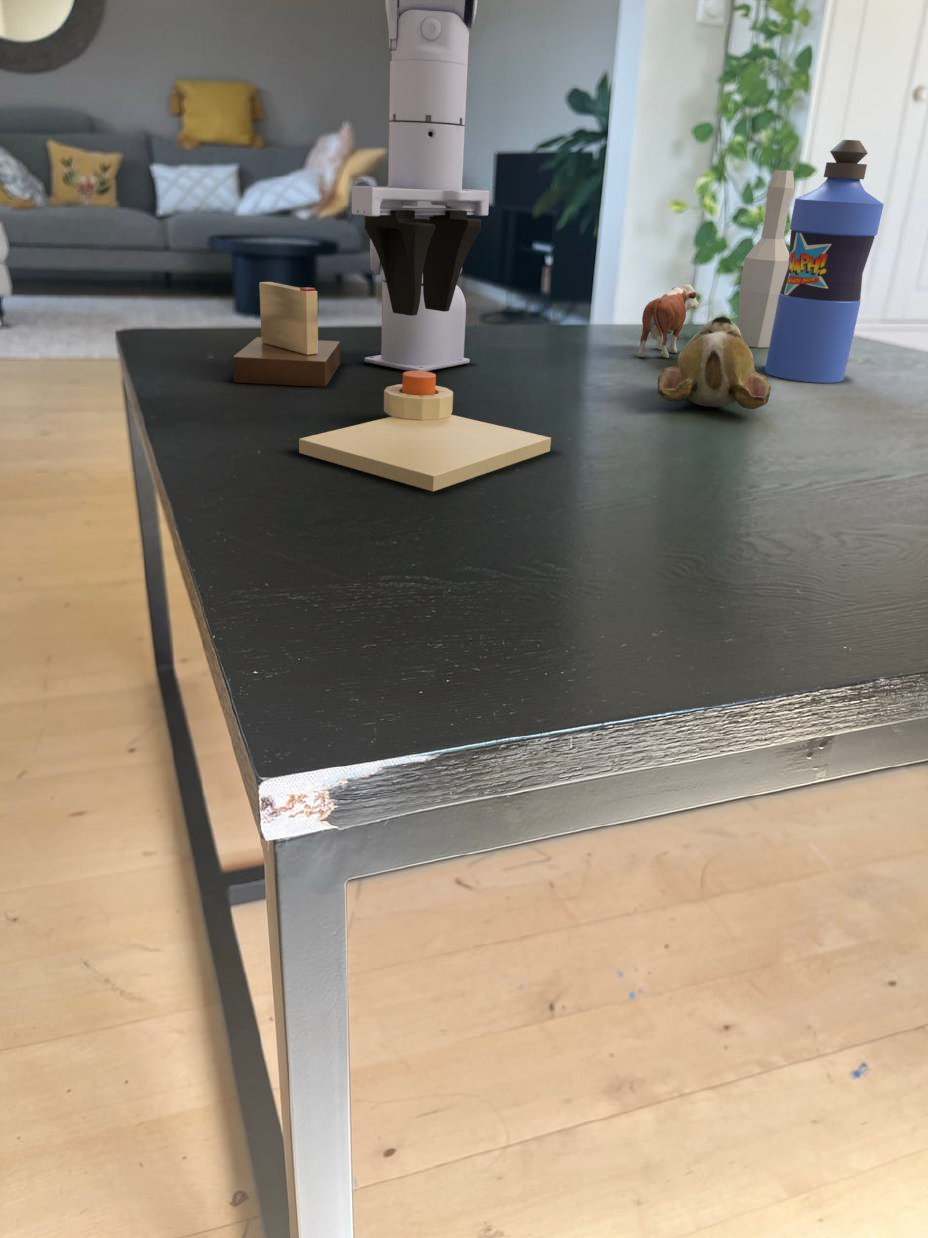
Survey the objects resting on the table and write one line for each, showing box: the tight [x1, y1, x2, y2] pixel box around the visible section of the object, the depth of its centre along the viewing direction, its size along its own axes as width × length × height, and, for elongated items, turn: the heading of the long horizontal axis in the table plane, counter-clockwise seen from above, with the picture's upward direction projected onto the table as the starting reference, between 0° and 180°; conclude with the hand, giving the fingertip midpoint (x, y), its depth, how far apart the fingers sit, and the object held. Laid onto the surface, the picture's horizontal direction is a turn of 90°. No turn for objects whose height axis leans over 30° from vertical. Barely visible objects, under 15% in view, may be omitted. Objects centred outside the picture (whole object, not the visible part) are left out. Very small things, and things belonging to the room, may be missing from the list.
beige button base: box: [298, 383, 552, 492], centre depth 75 cm, size 16×15×3 cm
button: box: [401, 371, 437, 396], centre depth 80 cm, size 3×3×2 cm
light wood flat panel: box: [258, 281, 319, 355], centre depth 97 cm, size 8×1×6 cm, turn 45°
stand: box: [232, 336, 341, 388], centre depth 98 cm, size 12×9×2 cm
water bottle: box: [764, 139, 885, 384], centre depth 108 cm, size 9×9×25 cm
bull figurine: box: [637, 283, 700, 359], centre depth 120 cm, size 4×13×8 cm, turn 148°
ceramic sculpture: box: [657, 316, 772, 410], centre depth 94 cm, size 11×9×15 cm
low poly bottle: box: [737, 169, 795, 348], centre depth 128 cm, size 6×6×22 cm
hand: (421, 311), depth 78 cm, fingers open, 4 cm apart
